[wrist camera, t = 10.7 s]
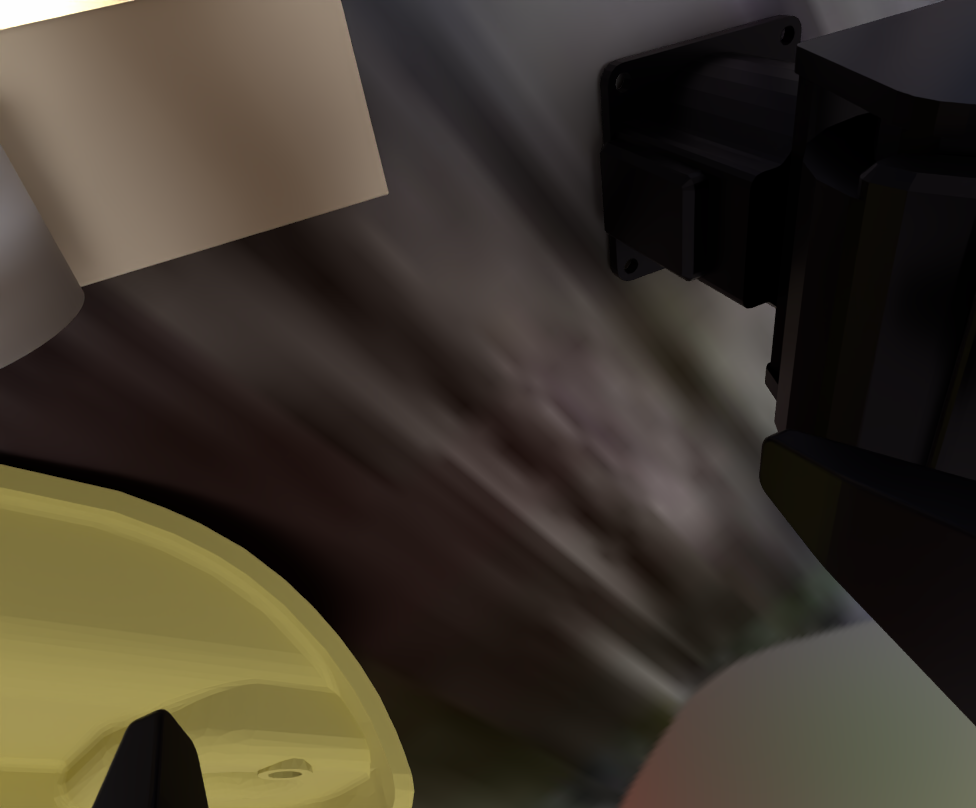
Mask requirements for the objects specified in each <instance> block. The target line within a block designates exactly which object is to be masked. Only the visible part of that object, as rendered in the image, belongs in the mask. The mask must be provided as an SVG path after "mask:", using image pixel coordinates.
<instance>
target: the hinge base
mask: <svg viewBox="0 0 976 808" xmlns="http://www.w3.org/2000/svg"><path fill="white" fill-rule="evenodd" d="M387 194H389V192H388V188H387V184H386V180H385V176H384V172H383V168H382V164H381V160H380V156H379V152H378V148H377V144H376V140H375V136H374V132H373V128H372V124H371V120H370V116H369V112H368V108H367V104H366V100H365V96H364V92H363V88H362V84H361V80H360V76H359V72H358V68H357V64H356V59H355V55H354V51H353V47H352V43H351V39H350V35H349V31H348V27H347V23H346V19H345V15H344V11H343V7H342V3H341V0H133V1H128V2H124V3H119V4H115V5H110V6H106V7H101V8H96V9H92V10H87V11H83V12H78V13H73V14H69V15H64V16H60V17H55V18H51V19H46V20H41V21H37V22H32V23H28V24H23V25H19V26H14V27H9V28H5V29H0V369H1V368H3V367H5V366H7V365H9V364H11V363H13V362H15V361H16V360H18V359H20V358H22V357H23V356H25V355H27V354H29V353H30V352H32V351H33V350H35V349H37V348H38V347H40V346H41V345H43V344H44V343H46V342H47V341H48V340H50V339H51V338H53V337H54V336H55V335H57V334H58V333H59V332H60V331H61V330H63V329H64V328H65V327H66V326H67V325H68V324H69V323H70V322H71V321H72V320H73V319H74V318H75V316H76V315H77V314H78V313H79V311H80V309H81V308H82V306H83V303H84V300H85V297H84V292H83V290H82V288H81V287H82V286H85V285H89V284H92V283H95V282H99V281H102V280H105V279H109V278H112V277H115V276H119V275H122V274H125V273H128V272H132V271H135V270H138V269H142V268H145V267H148V266H152V265H155V264H158V263H162V262H165V261H168V260H171V259H175V258H178V257H181V256H185V255H188V254H191V253H195V252H198V251H201V250H205V249H208V248H211V247H215V246H218V245H221V244H224V243H228V242H231V241H234V240H238V239H241V238H244V237H248V236H251V235H254V234H258V233H261V232H264V231H267V230H271V229H274V228H277V227H281V226H284V225H287V224H291V223H294V222H297V221H301V220H304V219H307V218H311V217H314V216H317V215H320V214H324V213H327V212H330V211H334V210H337V209H340V208H344V207H347V206H350V205H354V204H357V203H360V202H364V201H367V200H370V199H373V198H377V197H380V196H383V195H387Z"/></svg>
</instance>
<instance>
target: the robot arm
mask: <svg viewBox="0 0 976 808" xmlns="http://www.w3.org/2000/svg"><path fill="white" fill-rule="evenodd" d="M784 29H785V34H784V37H783V39H782V40H781V39H780V37H781V33H782V31H783V30H784ZM800 41H801V23H800V21H799V19H798V18H796V17H795V16H788V15H778V16H774V17H771V18H767V19H763V20H760V21H756V22H753V23H749V24H745V25H742V26H738V27H735V28H731V29H727V30H724V31H720V32H717V33H713V34H709V35H706V36H702V37H699V38H695V39H691V40H688V41H684V42H681V43H677V44H673V45H670V46H666V47H663V48H659V49H655V50H652V51H648V52H645V53H641V54H637V55H634V56H630V57H627V58H623V59H619V60H616V61H613V62H612V63H610V64H608V66H607V67H606V68H605V69H604V71H603V73H602V76H601V81H600V91H601V108H602V125H603V142H604V145H603V148H602V150H601V152H600V160H601V176H602V192H603V207H604V223H605V231H606V232H607V233H608V234H609V243H610V260H611V269H612V272H613V273H614V274H615V275H616V276H618V277H619V278H620V279H622V280H625V281H630V280H634V279H636V278H639V277H642V276H645V275H647V274H650V273H653V272H656V271H659V270H661V269H664V268H666V269H668V270H669V271H671V272H673V273H674V274H676V275H678V276H679V277H681V278H683V279H684V280H686V281H692V280H695V279H698V280H699V281H701V282H703V283H704V284H706V285H708V286H710V287H711V288H713V289H715V290H716V291H718V292H720V293H722V294H723V295H725V296H727V297H728V298H730V299H732V300H734V301H735V302H737V303H739V304H740V305H742V306H744V307H746V308H753V307H756V306H758V305H761V304H763V303H768V304H769V305H771V306H773V307H775V308H776V314H775V324H774V335H773V345H772V355H771V362H770V363H768V364H767V366H766V376H765V384H766V385H767V387H768V389H769V390H770V392H771V393H772V395H773V396H774V398H775V399H776V401H777V402H776V411H775V420H774V422H775V424H776V427H777V430H778V432H777V433H775V434H773V435H770V436H768V437H767V438H765V440H764V441H763V444H762V451H761V462H760V472H759V479H760V483H761V486H762V488H763V490H764V491H765V493H766V494H767V495H768V497H769V498H770V499H771V501H772V502H773V503H774V504H775V506H776V507H777V508H778V510H779V511H780V512H781V513H782V515H783V516H784V517H785V518H786V520H787V521H788V522H789V524H790V525H791V526H792V527H793V529H794V530H795V531H796V533H797V534H798V535H799V536H800V538H801V539H802V540H803V542H804V543H805V544H806V545H807V547H808V548H809V549H810V551H811V552H812V553H813V554H814V556H815V557H816V558H817V559H818V560H819V562H820V563H821V564H822V565H823V566H824V568H825V569H826V570H827V571H828V572H829V573H830V574H831V575H832V576H833V578H834V579H835V580H836V581H837V582H838V583H839V584H840V585H841V586H842V587H843V588H844V589H845V590H846V591H847V592H848V593H849V594H850V595H851V596H852V597H853V599H854V600H855V601H856V602H857V603H858V604H859V605H860V606H861V607H862V608H863V609H864V610H865V611H866V612H867V613H868V614H869V615H870V616H871V617H872V618H873V619H874V620H875V622H876V623H877V624H878V625H879V626H880V627H881V628H882V629H883V630H884V631H885V632H886V633H887V634H888V635H889V636H890V637H891V638H892V639H893V640H894V641H895V642H896V643H897V644H898V646H899V647H900V648H902V650H903V651H904V652H905V653H906V654H907V655H908V656H909V657H910V658H911V659H912V660H913V661H914V662H915V663H916V664H917V665H918V666H919V667H920V668H921V669H922V671H923V672H924V673H925V674H926V675H927V676H928V677H929V678H930V679H931V680H932V681H933V682H934V683H935V684H936V685H937V686H938V687H939V688H940V689H941V690H942V691H943V692H944V694H945V695H946V696H947V697H948V698H949V699H950V700H951V701H952V702H953V703H954V704H955V705H956V706H957V707H958V708H959V709H960V710H961V711H962V712H963V713H964V714H965V715H966V716H967V718H969V720H970V721H971V722H972V723H973V724H974V725H975V726H976V0H945V1H942V2H938V3H935V4H931V5H928V6H924V7H921V8H918V9H914V10H911V11H907V12H904V13H900V14H897V15H893V16H890V17H886V18H883V19H880V20H876V21H873V22H869V23H866V24H862V25H859V26H855V27H852V28H848V29H845V30H842V31H838V32H835V33H831V34H828V35H824V36H821V37H817V38H814V39H810V40H807V41H804V42H801V43H800ZM621 73H623V76H624V81H623V84H622V86H621V87H620V88H619V89H616V85H615V84H616V79H617V77H618V76H619V75H620V74H621ZM630 259H631V263H630V265H629V266H628V267H627V268H626V269H624V267H625V264H626V262H627V261H628V260H630ZM92 808H209V806H208V801H207V796H206V791H205V786H204V782H203V777H202V772H201V767H200V762H199V757H198V754H197V751H196V748H195V746H194V744H193V742H192V740H191V739H190V737H189V736H188V735H187V734H186V732H185V731H184V730H183V729H182V727H181V726H180V725H179V724H178V722H177V721H176V720H175V719H174V717H173V716H172V715H171V714H170V713H169V712H168V711H167V710H165V709H159V710H156V711H154V712H152V713H149V714H147V715H145V716H143V717H140V718H138V719H136V720H134V721H133V722H131V723H130V724H129V726H128V727H127V729H126V731H125V733H124V735H123V737H122V740H121V742H120V744H119V746H118V749H117V751H116V753H115V755H114V758H113V760H112V762H111V765H110V767H109V769H108V771H107V774H106V776H105V778H104V781H103V783H102V785H101V787H100V790H99V792H98V794H97V796H96V799H95V801H94V803H93V806H92Z"/></svg>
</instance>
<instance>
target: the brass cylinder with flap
mask: <svg viewBox="0 0 976 808" xmlns="http://www.w3.org/2000/svg"><path fill="white" fill-rule="evenodd" d="M128 1H133V0H0V29H5V28H9V27H14V26H19V25H23V24H28V23H32V22H37V21H41V20H46V19H51V18H55V17H60V16H64V15H69V14H73V13H78V12H83V11H87V10H92V9H96V8H101V7H106V6H110V5H115V4H119V3H124V2H128Z"/></svg>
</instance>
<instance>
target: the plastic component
mask: <svg viewBox="0 0 976 808" xmlns="http://www.w3.org/2000/svg"><path fill="white" fill-rule="evenodd" d="M159 709H165V710H167V711H168V712H169V713H170V714H171V715H172V716H173V717H174V719H175V720H176V721H177V722H178V724H179V725H180V726H181V727H182V729H183V730H184V731H185V732H186V734H187V735H188V736H189V737H190V739H191V740H192V742H193V744H194V746H195V748H196V751H197V754H198V757H199V762H200V767H201V772H202V777H203V782H204V786H205V791H206V796H207V801H208V806H209V808H412V802H413V796H414V786H413V780H412V774H411V771H410V768H409V765H408V762H407V759H406V756H405V753H404V750H403V748H402V745H401V743H400V740H399V738H398V735H397V732H396V730H395V728H394V726H393V724H392V722H391V720H390V717H389V715H388V713H387V711H386V709H385V707H384V705H383V703H382V701H381V698H380V697H379V695H378V693H377V692H376V690H375V688H374V687H373V685H372V683H371V682H370V680H369V679H368V677H367V675H366V674H365V672H364V670H363V669H362V667H361V665H360V664H359V663H358V661H357V660H356V659H355V657H354V656H353V655H352V653H351V652H350V650H349V649H348V648H347V646H346V645H345V644H344V642H343V641H342V640H341V638H340V637H339V636H338V634H337V633H336V632H335V631H334V630H333V629H332V628H331V626H330V625H329V624H328V623H327V622H326V621H325V620H324V618H323V617H322V616H321V615H320V614H319V613H318V612H317V610H316V609H315V608H314V607H313V606H312V605H311V604H310V603H309V602H308V601H307V600H306V599H305V598H304V597H302V596H301V595H300V594H299V593H298V592H297V591H296V590H295V589H294V588H293V587H292V586H291V585H290V584H289V583H288V582H287V581H286V580H285V579H283V578H282V577H281V576H280V575H278V574H277V573H276V572H274V571H273V570H272V569H270V568H269V567H268V566H267V565H265V564H264V563H263V562H261V561H260V560H259V559H257V558H256V557H255V556H253V555H252V554H251V553H250V552H248V551H247V550H246V549H244V548H243V547H241V546H239V545H237V544H236V543H234V542H232V541H230V540H228V539H227V538H225V537H223V536H221V535H220V534H218V533H216V532H214V531H213V530H211V529H209V528H207V527H206V526H204V525H202V524H200V523H198V522H196V521H193V520H191V519H189V518H187V517H184V516H182V515H180V514H178V513H175V512H173V511H171V510H169V509H166V508H164V507H161V506H158V505H156V504H153V503H150V502H147V501H145V500H142V499H139V498H137V497H134V496H131V495H128V494H126V493H123V492H120V491H116V490H112V489H107V488H103V487H99V486H94V485H90V484H85V483H81V482H77V481H72V480H68V479H63V478H59V477H54V476H50V475H46V474H41V473H37V472H32V471H28V470H24V469H19V468H15V467H10V466H6V465H2V464H0V808H92V806H93V803H94V801H95V799H96V796H97V794H98V792H99V790H100V787H101V785H102V783H103V781H104V778H105V776H106V774H107V771H108V769H109V767H110V765H111V762H112V760H113V758H114V755H115V753H116V751H117V749H118V746H119V744H120V742H121V740H122V737H123V735H124V733H125V731H126V729H127V727H128V726H129V724H130V723H131V722H133V721H134V720H136V719H138V718H140V717H143V716H145V715H147V714H149V713H152V712H154V711H156V710H159Z"/></svg>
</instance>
